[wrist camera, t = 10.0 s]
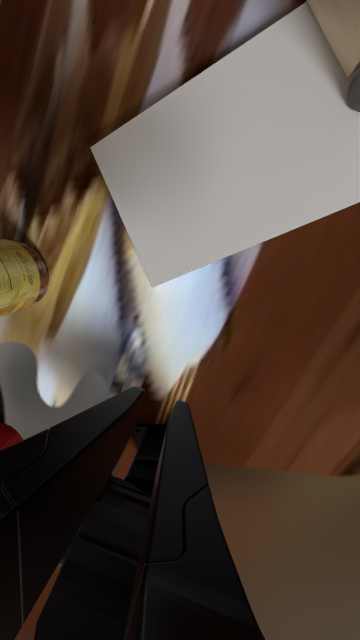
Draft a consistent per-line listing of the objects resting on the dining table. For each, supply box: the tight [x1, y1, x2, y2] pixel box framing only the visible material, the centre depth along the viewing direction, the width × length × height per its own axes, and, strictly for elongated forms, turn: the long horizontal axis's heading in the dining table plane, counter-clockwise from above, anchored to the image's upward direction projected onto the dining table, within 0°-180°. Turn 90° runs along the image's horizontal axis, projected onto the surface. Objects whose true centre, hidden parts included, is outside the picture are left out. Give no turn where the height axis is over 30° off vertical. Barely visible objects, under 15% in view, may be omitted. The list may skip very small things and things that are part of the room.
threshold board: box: [90, 2, 360, 287], centre depth 17 cm, size 20×11×1 cm, turn 113°
